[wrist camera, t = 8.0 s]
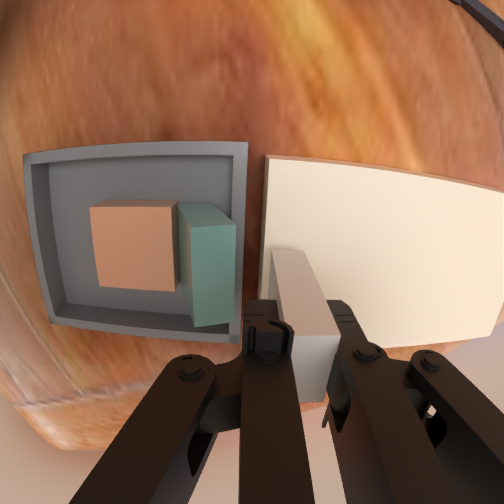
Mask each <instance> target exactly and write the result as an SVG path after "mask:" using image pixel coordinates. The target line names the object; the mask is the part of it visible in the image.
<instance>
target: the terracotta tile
mask: <svg viewBox="0 0 504 504" xmlns="http://www.w3.org/2000/svg"><path fill="white" fill-rule="evenodd" d="M177 203H179V200H157V199H136V200H102V201H101V202H99V203H97V204H95V205H93V206H91V207H89V208H90V220H91V229H92V238H93V246H94V254H95V261H96V268H97V274H98V280H99V286H103V287H115V288H128V289H141V290H156V291H171V292H175V291H176V289H177V286H178V284H179V282H180V278H179V259H178V234H177Z"/></svg>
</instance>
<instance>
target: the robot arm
mask: <svg viewBox="0 0 504 504" xmlns="http://www.w3.org/2000/svg"><path fill="white" fill-rule="evenodd" d="M326 391H327V393H328V397H329V403H328V406H327V409H326V412H325V416H324V419H323V422H322V428H325V427H326V424H327V421H329V425H330V430H331V434H332V438H333V443H334V447H335V451H336V456H337V461H338V465H339V470H340V474H341V479H342V483H343V488H344V493H345V498H346V502H347V504H504V414H503V413H502V412H501V411H500V410H499V409H498V408H497V407H496V406H495V405H494V404H493V403H492V402H491V401H490V400H489V399H488V398H487V397H486V396H485V395H484V394H483V393H482V392H481V391H480V390H479V389H478V388H477V387H475V386H474V384H473V383H472V382H471V381H469V380H468V379H467V378H466V377H465V376H464V375H463V374H462V373H461V372H460V371H459V370H458V369H457V368H456V367H455V366H454V365H452V363H450V362H449V361H448V360H447V359H446V358H445V357H444V356H442V355H441V354H439V353H437V352H435V351H432V350H418V351H417V352H415V353H414V354H413V356H412V357H411V360H410V362H409V361H402V360H395V359H390V358H388V356H387V354H386V352H385V351H384V350H383V349H382V348H381V347H380V346H378V345H377V344H375V343H372V342H369V341H368V340H367V338H366V336H365V334H364V332H363V330H362V328H361V326H360V324H359V322H357V319H356V317H355V316H354V313H353V311H352V309H351V307H350V306H349V305H347V304H346V303H345V302H343V301H342V300H326V299H325V297H324V294H323V292H322V290H321V288H320V285H319V283H318V281H317V278H316V276H315V274H314V272H313V270H312V267H311V265H310V263H309V261H308V258H307V256H306V254H305V252H304V251H297V250H273V249H272V250H271V264H270V277H269V290H268V299H249V300H248V301H247V302H246V304H245V305H244V311H243V337H242V351H241V353H240V354H239V356H238V357H236V358H235V359H234V360H231V361H229V362H226V363H222V364H217V365H214V363H213V362H212V361H210V360H209V359H208V358H206V357H203V356H200V355H193V354H188V355H181V356H179V357H176V358H174V359H172V360H171V361H170V362H169V363H168V364H167V365H166V367H165V368H164V369H163V371H162V372H161V374H160V375H159V376H158V378H157V379H156V381H155V382H154V383H153V385H152V386H151V388H150V389H149V390H148V392H147V393H146V395H145V396H144V397H143V399H142V400H141V402H140V403H139V405H138V406H137V407H136V409H135V410H134V412H133V413H132V414H131V416H130V417H129V419H128V420H127V421H126V423H125V424H124V426H123V427H122V429H121V430H120V431H119V433H118V434H117V436H116V437H115V438H114V440H113V441H112V443H111V444H110V445H109V447H108V448H107V450H106V451H105V453H104V454H103V455H102V457H101V459H100V460H99V461H98V463H97V464H96V465H95V467H94V468H93V470H92V471H91V472H90V474H89V475H88V477H87V478H86V480H85V481H84V482H83V484H82V485H81V487H80V488H79V490H78V491H77V492H76V494H75V495H74V497H73V498H72V499H71V501H70V502H69V504H188V502H189V500H190V497H191V495H192V493H193V491H194V488H195V486H196V484H197V482H198V479H199V477H200V475H201V473H202V470H203V468H204V466H205V463H206V461H207V458H208V456H209V454H210V452H211V449H212V447H213V445H214V442H215V440H216V438H217V435H218V433H219V432H224V431H228V430H233V429H237V428H240V447H239V499H238V504H315V500H314V493H313V486H312V480H311V473H310V467H309V461H308V454H307V448H306V442H305V436H304V430H303V424H302V417H301V411H300V405H299V402H323V401H324V398H325V394H326ZM431 405H432V406H433V407H434V408H435V409H436V413H435V414H434V416H432V415H430V414H429V413H428V412H427V411H428V410H429V408H430V406H431Z"/></svg>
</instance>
